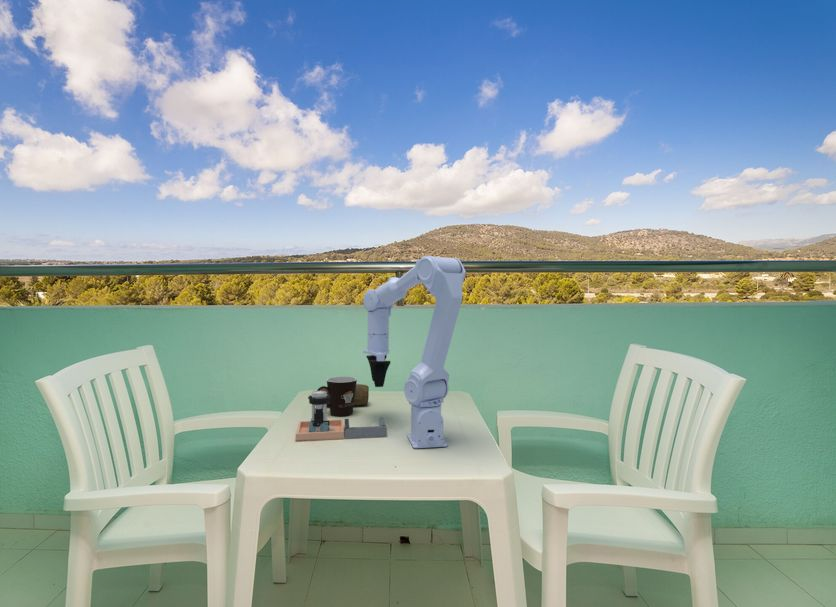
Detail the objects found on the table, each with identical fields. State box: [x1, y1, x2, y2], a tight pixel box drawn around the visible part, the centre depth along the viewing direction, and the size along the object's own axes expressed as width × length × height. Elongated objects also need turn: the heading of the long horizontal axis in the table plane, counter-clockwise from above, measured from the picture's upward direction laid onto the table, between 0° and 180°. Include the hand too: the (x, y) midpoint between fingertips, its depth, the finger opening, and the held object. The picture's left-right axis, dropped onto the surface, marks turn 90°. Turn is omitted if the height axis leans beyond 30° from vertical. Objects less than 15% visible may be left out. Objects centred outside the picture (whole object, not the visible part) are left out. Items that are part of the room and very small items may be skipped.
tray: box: [295, 419, 345, 442], centre depth 111 cm, size 10×11×2 cm
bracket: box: [343, 416, 388, 440], centre depth 113 cm, size 8×10×2 cm
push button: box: [307, 390, 335, 432], centre depth 111 cm, size 7×5×10 cm
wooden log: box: [320, 383, 370, 407], centre depth 139 cm, size 15×7×7 cm, turn 102°
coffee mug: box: [316, 376, 358, 418], centre depth 129 cm, size 12×9×10 cm
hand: (377, 383), depth 122 cm, fingers open, 7 cm apart
